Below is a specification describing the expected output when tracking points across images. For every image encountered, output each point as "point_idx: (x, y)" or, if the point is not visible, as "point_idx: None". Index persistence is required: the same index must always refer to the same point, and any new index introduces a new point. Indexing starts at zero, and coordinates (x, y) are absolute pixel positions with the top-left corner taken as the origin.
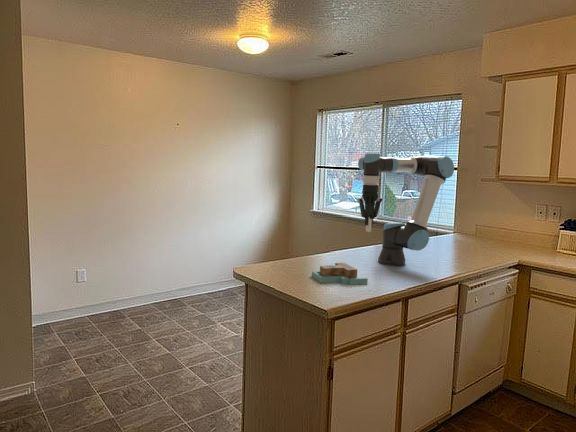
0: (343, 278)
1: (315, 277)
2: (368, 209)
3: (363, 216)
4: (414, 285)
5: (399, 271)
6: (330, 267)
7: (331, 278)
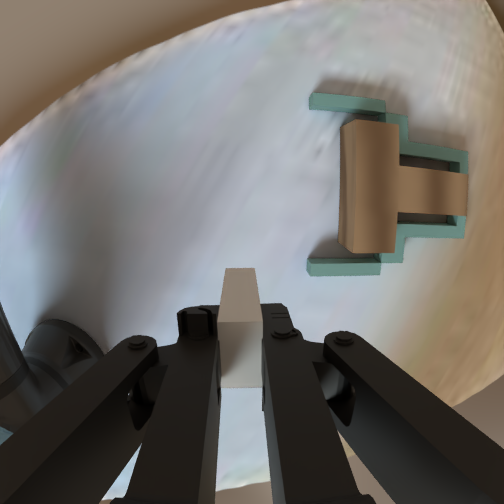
0: (405, 118)
1: None
2: (303, 423)
3: (361, 344)
4: (133, 60)
5: (83, 247)
6: (444, 182)
7: (435, 146)
